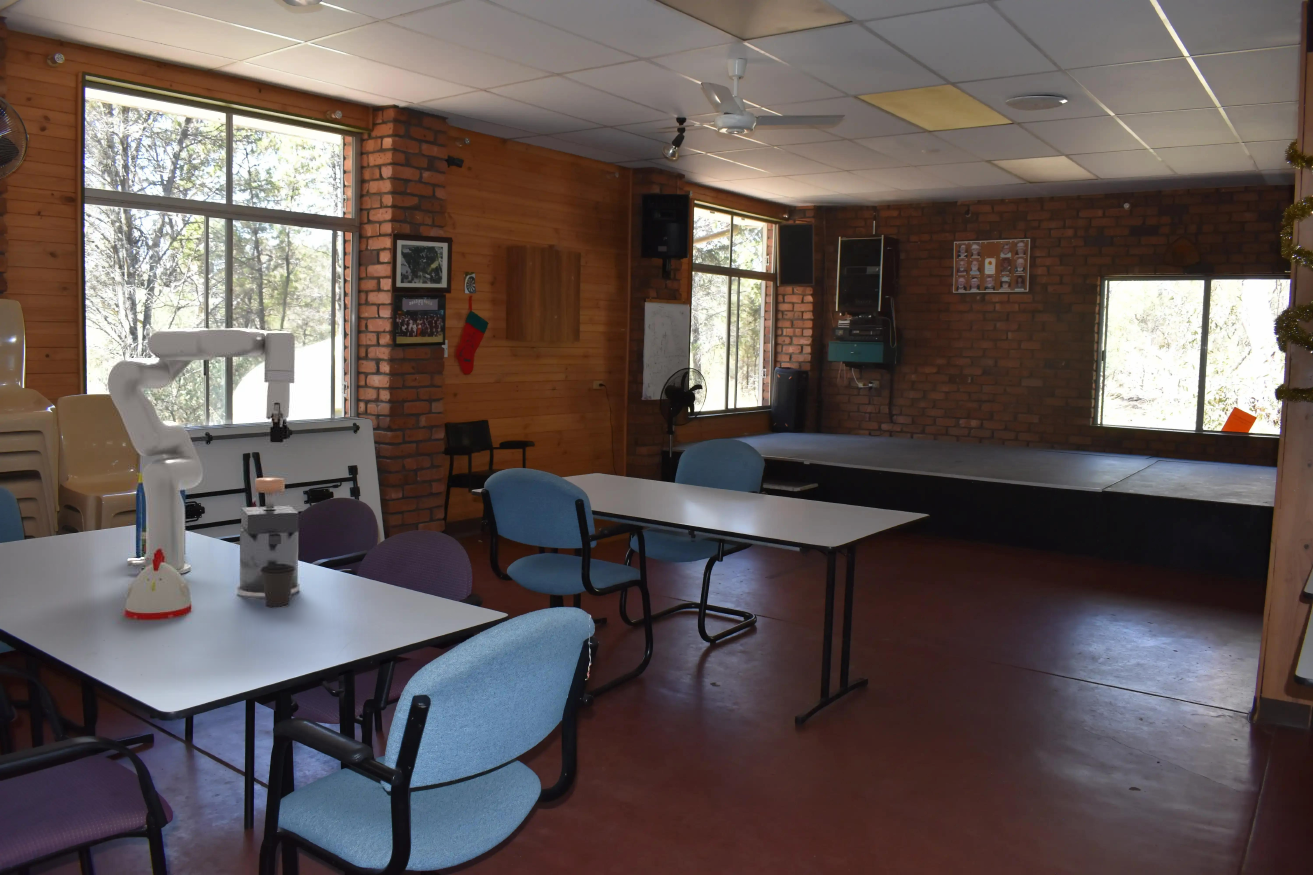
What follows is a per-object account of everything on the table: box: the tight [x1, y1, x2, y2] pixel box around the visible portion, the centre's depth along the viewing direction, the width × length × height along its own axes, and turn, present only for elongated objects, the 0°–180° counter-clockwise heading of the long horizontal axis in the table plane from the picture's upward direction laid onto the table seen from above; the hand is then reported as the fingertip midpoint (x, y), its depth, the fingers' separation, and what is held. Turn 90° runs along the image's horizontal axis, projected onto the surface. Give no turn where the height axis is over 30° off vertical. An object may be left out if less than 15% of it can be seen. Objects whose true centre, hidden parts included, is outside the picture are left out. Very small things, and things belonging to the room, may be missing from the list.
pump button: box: [254, 477, 286, 509], centre depth 247 cm, size 7×7×8 cm
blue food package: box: [135, 473, 187, 559], centre depth 286 cm, size 6×12×25 cm, turn 133°
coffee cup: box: [260, 564, 295, 609], centre depth 237 cm, size 8×8×10 cm
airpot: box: [236, 505, 301, 600], centre depth 247 cm, size 15×18×22 cm
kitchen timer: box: [124, 549, 192, 621], centre depth 226 cm, size 14×14×15 cm
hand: (278, 440), depth 259 cm, fingers open, 9 cm apart
